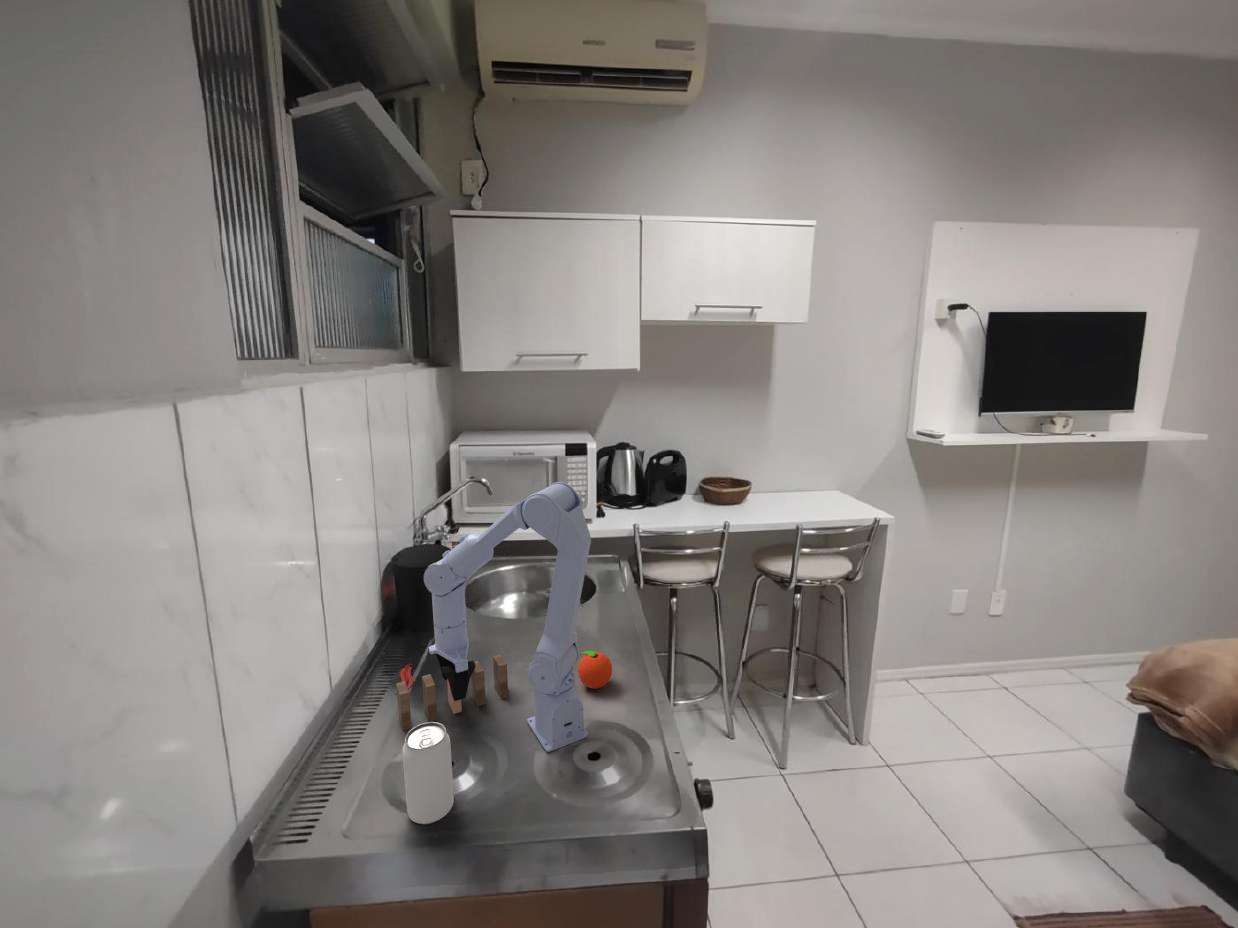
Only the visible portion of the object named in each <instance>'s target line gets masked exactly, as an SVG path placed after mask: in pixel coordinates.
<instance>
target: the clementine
mask: <svg viewBox="0 0 1238 928" xmlns="http://www.w3.org/2000/svg"><path fill="white" fill-rule="evenodd" d="M583 654H585V655H584V656H583V657H582V658H581V659H580V661H579V663H578V670H577V673H578V677H579V679H580V682H581V683H582V684H583V686H585V687H587V688H590V689H601V688H603V687H604V686H606V685H607V684H608V682H609V681H610V680H611V677H612V674H613V665H612V662H611V661H610V658H609V657H608V656H607V655H606V654H605V653H602V652H599V651H594V650H585V651H583V652H581V653H579V658H580V656H581V655H583Z"/></svg>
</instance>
